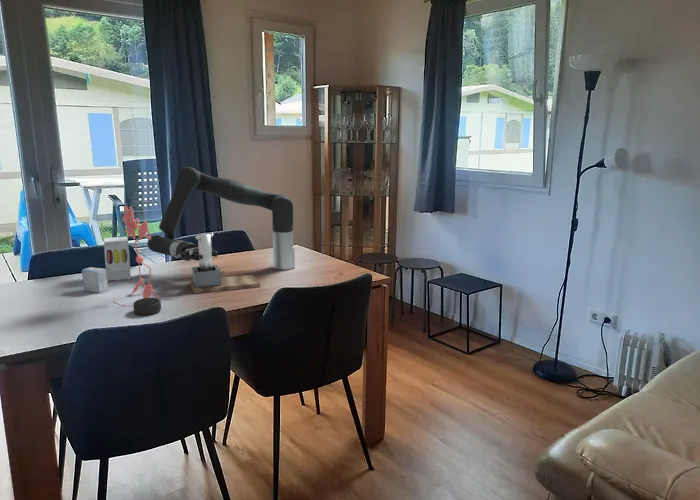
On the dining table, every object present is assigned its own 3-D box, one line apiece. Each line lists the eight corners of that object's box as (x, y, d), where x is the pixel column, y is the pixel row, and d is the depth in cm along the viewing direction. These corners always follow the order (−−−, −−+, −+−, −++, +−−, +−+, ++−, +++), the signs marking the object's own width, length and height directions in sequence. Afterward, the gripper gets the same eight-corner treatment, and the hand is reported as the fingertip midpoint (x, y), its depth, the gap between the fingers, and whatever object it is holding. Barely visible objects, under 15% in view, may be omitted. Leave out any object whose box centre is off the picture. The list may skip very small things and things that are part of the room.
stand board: (252, 278, 225) (252, 274, 225) (260, 286, 213) (260, 283, 213) (189, 283, 216) (189, 280, 216) (193, 293, 203) (193, 289, 203)
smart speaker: (158, 315, 179) (157, 304, 178) (130, 316, 178) (129, 305, 177) (164, 307, 187) (163, 296, 186) (138, 308, 186) (137, 297, 185)
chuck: (217, 279, 218) (217, 265, 216) (221, 285, 209) (220, 270, 207) (192, 281, 214) (191, 267, 213) (195, 288, 205) (194, 273, 204)
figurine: (144, 286, 211) (135, 199, 203) (167, 303, 191) (158, 208, 183) (103, 294, 202) (92, 203, 193) (123, 312, 182) (112, 212, 174)
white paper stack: (108, 290, 206) (106, 268, 204) (99, 293, 202) (97, 271, 200) (92, 288, 209) (90, 266, 207) (83, 291, 205) (81, 269, 203)
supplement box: (106, 281, 218) (102, 241, 214) (106, 276, 226) (103, 237, 222) (131, 279, 222) (128, 240, 218) (130, 273, 230) (127, 236, 226)
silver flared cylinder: (211, 280, 216) (209, 232, 212) (219, 282, 213) (217, 233, 209) (194, 284, 210) (191, 235, 205) (202, 286, 207) (199, 236, 202)
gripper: (167, 244, 211) (192, 249, 202) (197, 238, 222) (222, 244, 213) (168, 262, 213) (193, 268, 203) (198, 256, 224) (222, 262, 214)
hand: (207, 256), depth 208 cm, fingers open, 8 cm apart
